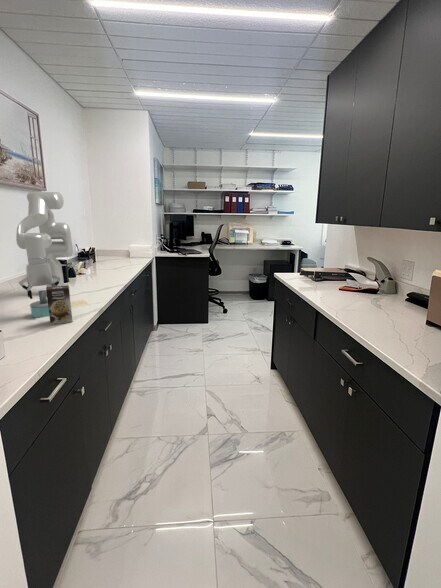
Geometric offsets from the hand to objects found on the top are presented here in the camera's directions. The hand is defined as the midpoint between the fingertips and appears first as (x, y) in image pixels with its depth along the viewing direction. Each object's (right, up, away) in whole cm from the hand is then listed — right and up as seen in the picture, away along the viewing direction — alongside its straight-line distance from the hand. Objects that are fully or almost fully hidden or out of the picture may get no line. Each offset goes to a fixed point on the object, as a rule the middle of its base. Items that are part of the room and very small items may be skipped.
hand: (42, 296), depth 147 cm
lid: (0, -4, +1) cm, 4 cm away
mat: (+7, -4, +19) cm, 20 cm away
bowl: (0, -9, +2) cm, 9 cm away
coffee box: (+13, -11, -7) cm, 19 cm away
